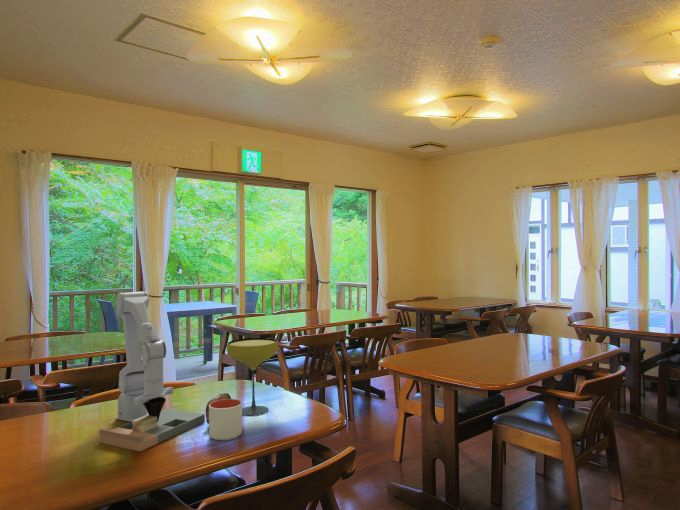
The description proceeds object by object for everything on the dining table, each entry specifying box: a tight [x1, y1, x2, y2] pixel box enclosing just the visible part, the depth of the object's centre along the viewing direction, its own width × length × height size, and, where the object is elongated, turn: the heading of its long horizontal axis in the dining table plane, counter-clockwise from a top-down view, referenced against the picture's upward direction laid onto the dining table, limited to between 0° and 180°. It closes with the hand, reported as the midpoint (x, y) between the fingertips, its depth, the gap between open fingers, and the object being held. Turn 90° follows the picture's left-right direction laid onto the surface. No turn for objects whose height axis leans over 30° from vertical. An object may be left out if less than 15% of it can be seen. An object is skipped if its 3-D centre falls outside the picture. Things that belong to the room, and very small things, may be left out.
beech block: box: [133, 415, 157, 432], centre depth 147 cm, size 4×6×3 cm
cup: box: [208, 398, 243, 441], centre depth 146 cm, size 10×10×10 cm
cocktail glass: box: [226, 337, 279, 417], centre depth 170 cm, size 18×18×25 cm
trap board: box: [99, 407, 206, 452], centre depth 151 cm, size 17×27×4 cm, turn 155°
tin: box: [205, 392, 232, 425], centre depth 160 cm, size 15×3×8 cm, turn 168°
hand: (154, 421), depth 150 cm, fingers closed
